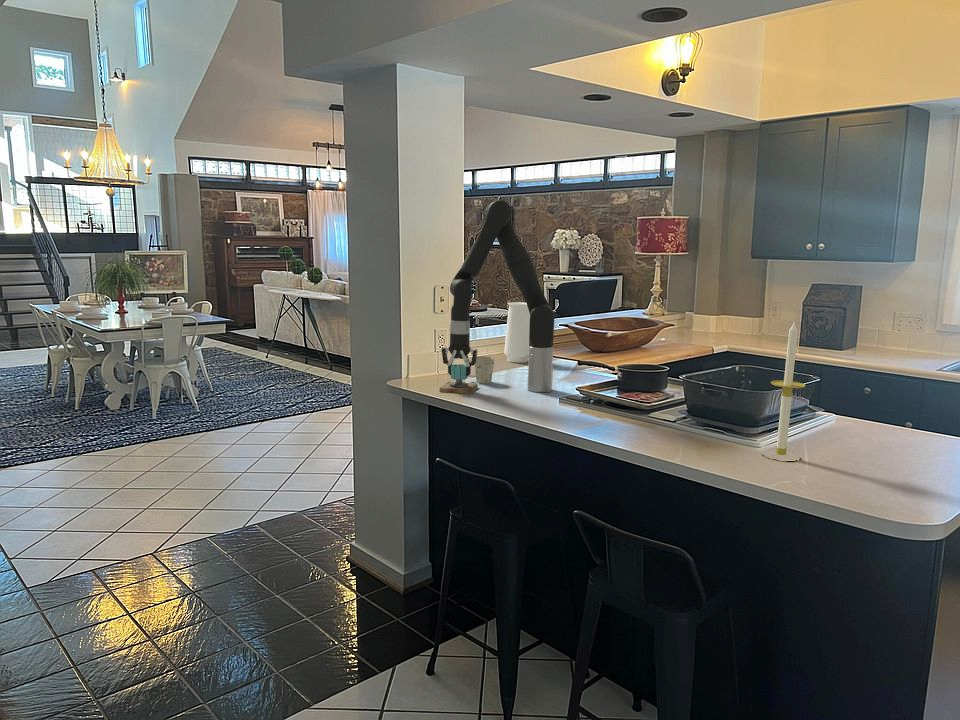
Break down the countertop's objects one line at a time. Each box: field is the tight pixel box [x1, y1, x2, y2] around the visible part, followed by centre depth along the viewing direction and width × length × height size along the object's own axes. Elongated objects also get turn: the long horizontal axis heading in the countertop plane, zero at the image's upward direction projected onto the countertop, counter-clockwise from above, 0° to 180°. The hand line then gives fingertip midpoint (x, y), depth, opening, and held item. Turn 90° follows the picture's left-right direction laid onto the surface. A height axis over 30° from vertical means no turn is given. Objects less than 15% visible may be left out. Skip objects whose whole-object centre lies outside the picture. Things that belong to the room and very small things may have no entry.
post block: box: [439, 365, 479, 395], centre depth 258 cm, size 12×12×10 cm
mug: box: [465, 355, 496, 384], centre depth 274 cm, size 8×13×10 cm, turn 78°
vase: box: [503, 301, 530, 364], centre depth 324 cm, size 13×13×28 cm
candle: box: [770, 320, 806, 455], centre depth 181 cm, size 10×10×38 cm
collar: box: [450, 363, 468, 381], centre depth 258 cm, size 6×6×5 cm
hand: (459, 375), depth 258 cm, fingers closed on collar, 6 cm apart
